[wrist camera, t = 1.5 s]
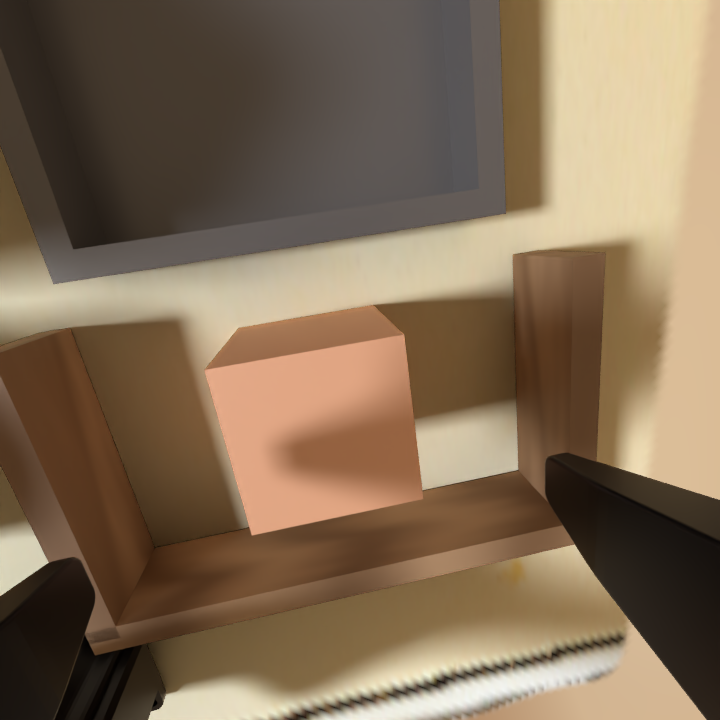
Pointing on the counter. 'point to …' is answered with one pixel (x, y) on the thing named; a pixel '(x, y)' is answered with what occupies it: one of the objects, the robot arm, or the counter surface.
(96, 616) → the cubby
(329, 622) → the counter surface
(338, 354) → the cube
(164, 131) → the box
